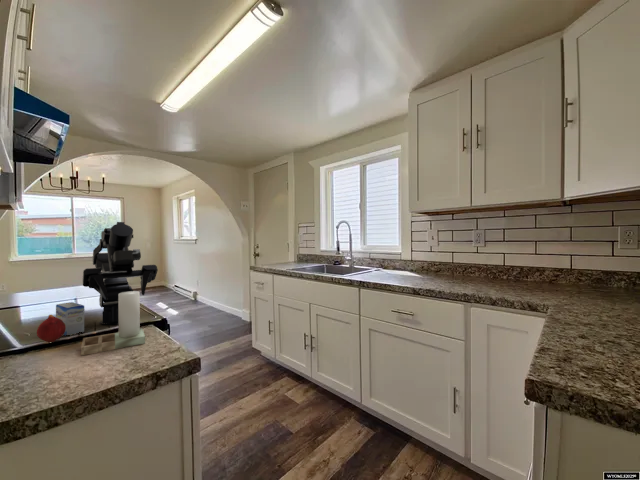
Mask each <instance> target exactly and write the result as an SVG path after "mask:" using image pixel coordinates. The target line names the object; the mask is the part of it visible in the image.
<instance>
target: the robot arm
mask: <svg viewBox="0 0 640 480" xmlns="http://www.w3.org/2000/svg"><path fill="white" fill-rule="evenodd" d="M133 233H134V229H133V228H132V226H130V225H128V224H125V222H124V221H116V224H113V225H112V226H111V227H110V228H109V227H105V228H104V229H103V231H101V237H100V239H99V244H98V245H97V246H96V247H95V248H94V249H93V252H92V266H94V267H92V268H91V267H90V268H89V267H88V268H85V269H84V270H83V271H82V287H85V288H86V287H87V288H88V289H93V290H95V291H96V292H98V294H99V300H98V301H99V306H100V308H103V310H102V314H101V315H102V316H101V317H102V321H99V322H98V323H99V324H100V325H110V326H111V325H112V326H115V325H116V324H117V325H119V312H118V294H119V293H122V292H129V291H134V290H133V288H132V286H130V283H129V282H128V281H129V280H128V279H127V278H137V277H138V278H140V289H141V292H140V293H141V296H145V294H146V289H147V285H148V284H149V283H151V282H152V281H155V280H156V278H157V277H156V276H157V273H158V266H157V265H156V264H142V265H141V268H140V269H137V270H133V268H134V267H135V263H134V262H135V261H139V260H141V257H142V254H141V250H140V249H139V248H138V249H137V248H134V249H132V250H131V249H129V247H130V246H131V242H132V239H134V234H133ZM103 249H104V250H105V249H106V250H107V251H106V252H102V250H103Z"/></svg>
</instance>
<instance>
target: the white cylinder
mask: <svg viewBox="0 0 640 480" xmlns="http://www.w3.org/2000/svg"><path fill="white" fill-rule="evenodd" d="M140 293H141V292H140V291H137V290H133V291H129V292H122V293H119V294H118V312H119V324H118V332H119V337H120V338H127V337H133V336H136V335H138V334H139V333H140V329H141V327H140V326H141V325H140V324H141V317H140V316H141V314H140V311H141V307H140V306H141V305H140V304H141V303H140V301H141V297H140Z"/></svg>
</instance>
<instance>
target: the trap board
mask: <svg viewBox="0 0 640 480" xmlns="http://www.w3.org/2000/svg"><path fill="white" fill-rule="evenodd" d="M144 332H145V331H144V329H143V327H140V333H139V334H138V335H136V336H133V337H127V338H120V337H119V331H117V332H113V333H106V334H100V335H99V334H98V335H95V336H89V337H83V338H82V342H81V346H80V356H87V355H92V354H96V353H97V354H98V353H101V352H108V351H112V350H117V349H122V348H127V347H133V346H137V345H143V344H146V336H145V333H144Z"/></svg>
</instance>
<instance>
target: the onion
mask: <svg viewBox="0 0 640 480" xmlns="http://www.w3.org/2000/svg"><path fill="white" fill-rule="evenodd" d="M65 330H66V326H65V324H64V322H63V321H62V320H60V319H59V318H56V316H54V315H53V314H49V315H48V318H46V319H45V320H43V321H42V322H41V323H40V324H39V325H38V327H37V330H36V335H37V338H39V339H40V340H42V341H44V342H46V343H48V344H51V343H50V342H53V343H54V342H56V341H58V340H59V339H60V338H61V337H62V336H64V335H63V334H64V333H65Z"/></svg>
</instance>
